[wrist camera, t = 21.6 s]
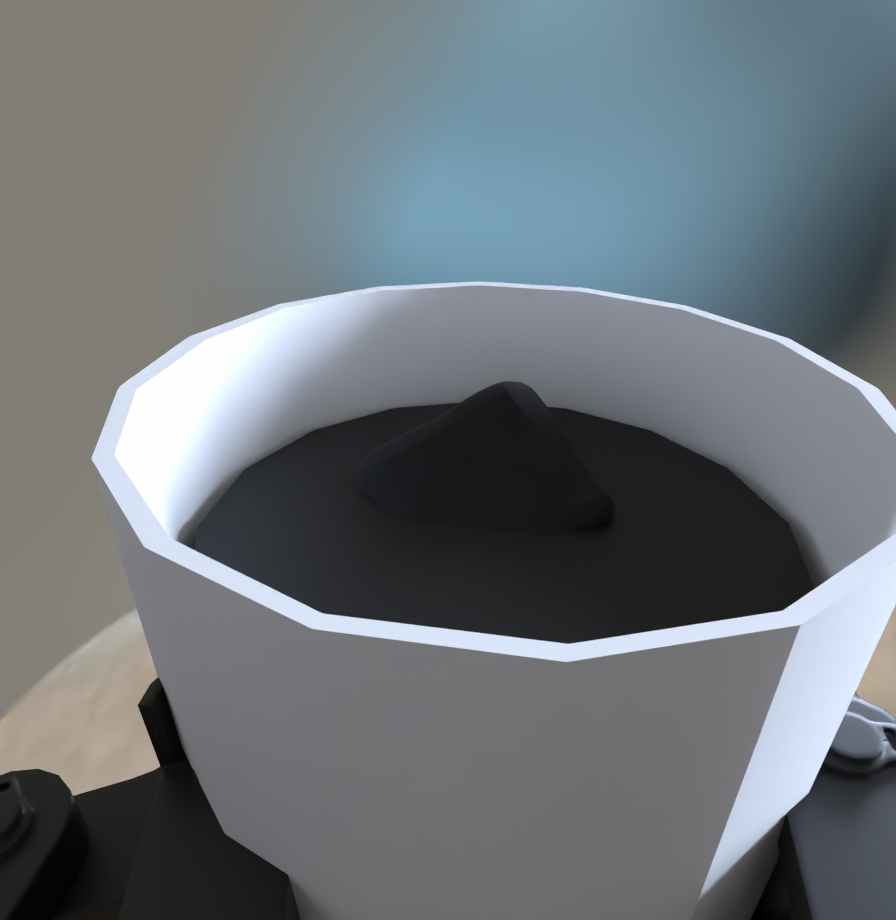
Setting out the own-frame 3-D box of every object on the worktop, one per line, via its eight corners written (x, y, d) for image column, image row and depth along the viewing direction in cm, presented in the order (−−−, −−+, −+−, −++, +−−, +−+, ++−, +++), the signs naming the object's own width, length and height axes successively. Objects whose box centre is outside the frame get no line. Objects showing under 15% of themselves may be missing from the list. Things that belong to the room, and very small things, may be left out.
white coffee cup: (211, 883, 13) (82, 319, 8) (548, 755, 15) (605, 262, 10) (316, 1474, 8) (121, 866, 3) (805, 1136, 10) (1163, 495, 5)
